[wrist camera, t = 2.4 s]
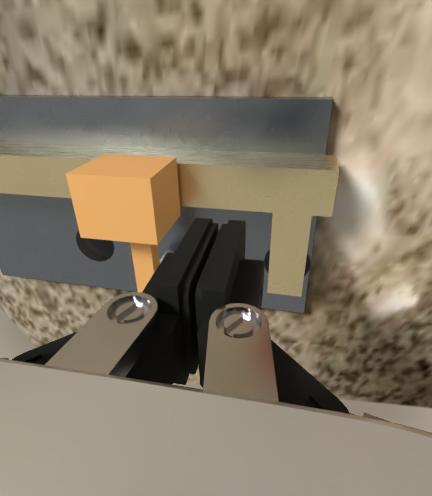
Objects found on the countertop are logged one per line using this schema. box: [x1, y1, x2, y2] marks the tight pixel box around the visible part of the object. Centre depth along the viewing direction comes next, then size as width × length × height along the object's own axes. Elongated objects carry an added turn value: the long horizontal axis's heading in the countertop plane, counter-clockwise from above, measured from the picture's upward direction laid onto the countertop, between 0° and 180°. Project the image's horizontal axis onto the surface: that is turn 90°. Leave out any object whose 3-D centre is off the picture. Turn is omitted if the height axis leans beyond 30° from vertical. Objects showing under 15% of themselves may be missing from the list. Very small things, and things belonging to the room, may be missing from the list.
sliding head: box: [66, 154, 180, 293], centre depth 20 cm, size 4×8×6 cm, turn 1°
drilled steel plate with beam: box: [0, 95, 339, 313], centre depth 23 cm, size 26×14×4 cm, turn 91°
